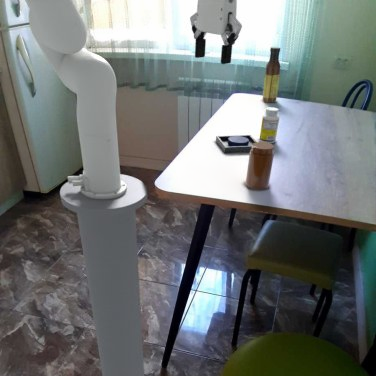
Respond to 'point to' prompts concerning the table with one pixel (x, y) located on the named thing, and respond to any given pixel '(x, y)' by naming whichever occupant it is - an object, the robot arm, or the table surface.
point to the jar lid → (238, 141)
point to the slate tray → (223, 144)
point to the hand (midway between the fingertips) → (212, 60)
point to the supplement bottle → (269, 125)
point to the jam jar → (259, 165)
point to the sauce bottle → (272, 76)
